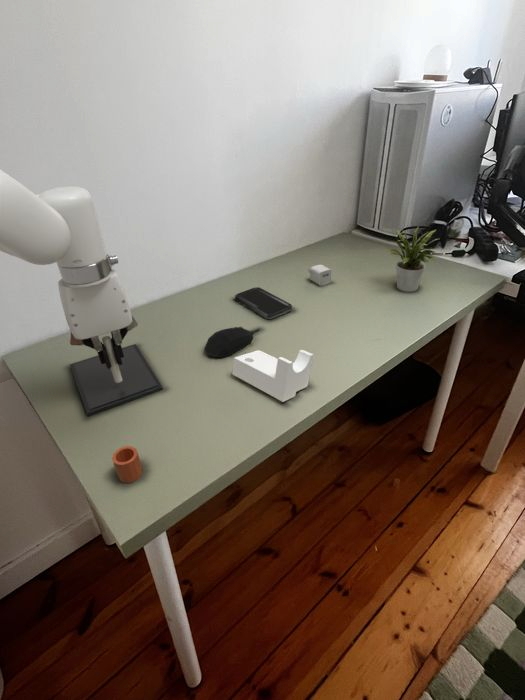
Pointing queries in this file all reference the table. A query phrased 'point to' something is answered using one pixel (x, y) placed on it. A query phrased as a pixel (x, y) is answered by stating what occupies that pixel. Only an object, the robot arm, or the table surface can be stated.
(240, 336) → the gaming mouse
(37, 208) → the robot arm
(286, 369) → the bracket
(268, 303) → the phone
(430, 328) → the table surface
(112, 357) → the stylus
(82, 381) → the tablet
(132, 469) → the pen holder
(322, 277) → the usb wall charger
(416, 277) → the house plant
